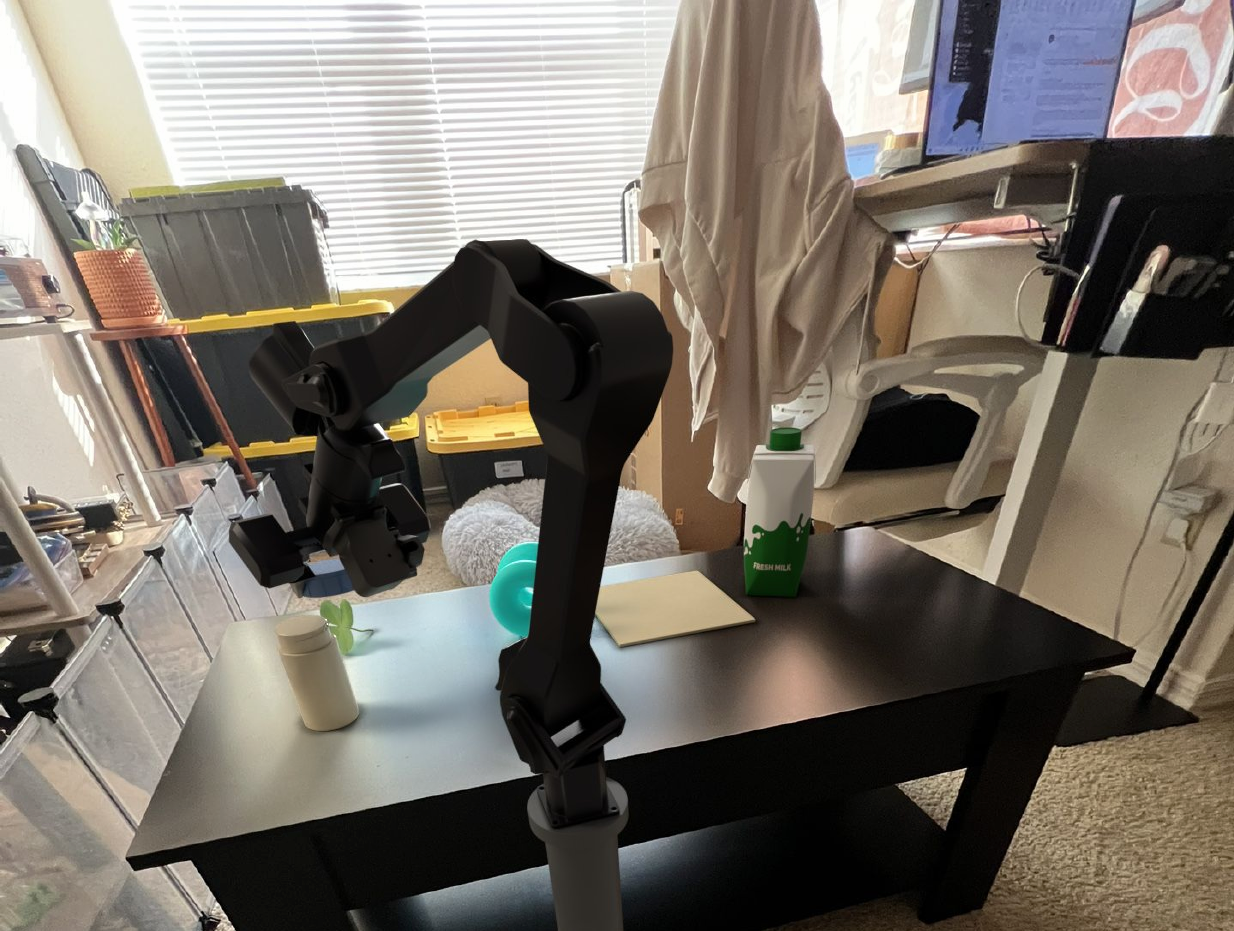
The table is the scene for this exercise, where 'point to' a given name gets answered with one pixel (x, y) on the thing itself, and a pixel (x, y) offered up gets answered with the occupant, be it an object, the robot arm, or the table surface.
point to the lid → (327, 580)
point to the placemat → (666, 608)
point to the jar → (316, 672)
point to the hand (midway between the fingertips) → (326, 585)
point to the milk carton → (778, 514)
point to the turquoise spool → (514, 588)
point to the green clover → (340, 623)
